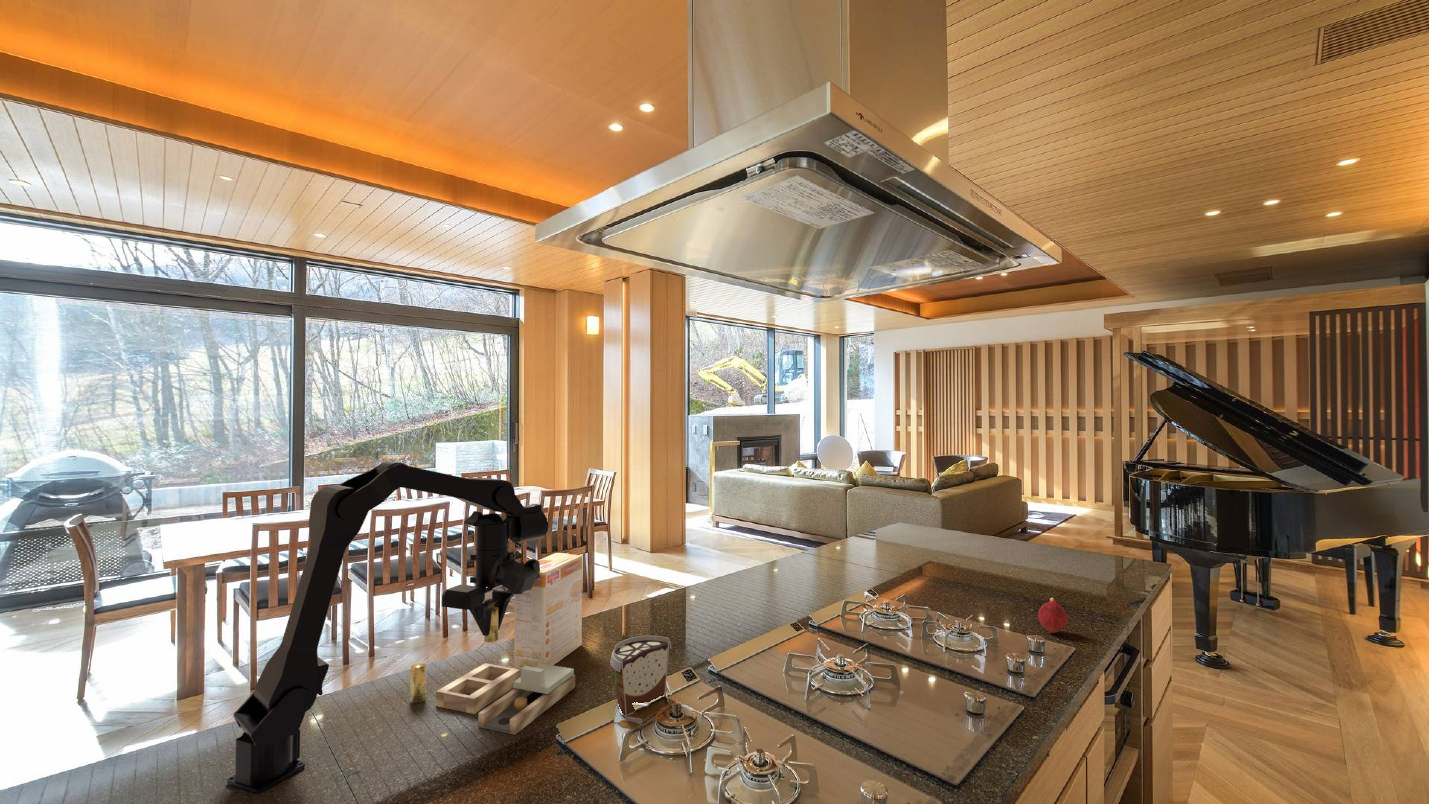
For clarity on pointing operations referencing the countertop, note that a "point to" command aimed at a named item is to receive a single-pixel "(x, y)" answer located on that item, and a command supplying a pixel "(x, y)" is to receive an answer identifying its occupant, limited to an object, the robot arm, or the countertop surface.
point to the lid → (542, 678)
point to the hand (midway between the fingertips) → (491, 632)
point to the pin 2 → (493, 625)
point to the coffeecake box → (549, 613)
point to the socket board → (477, 688)
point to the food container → (640, 670)
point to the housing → (520, 708)
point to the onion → (1052, 616)
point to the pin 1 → (418, 683)
